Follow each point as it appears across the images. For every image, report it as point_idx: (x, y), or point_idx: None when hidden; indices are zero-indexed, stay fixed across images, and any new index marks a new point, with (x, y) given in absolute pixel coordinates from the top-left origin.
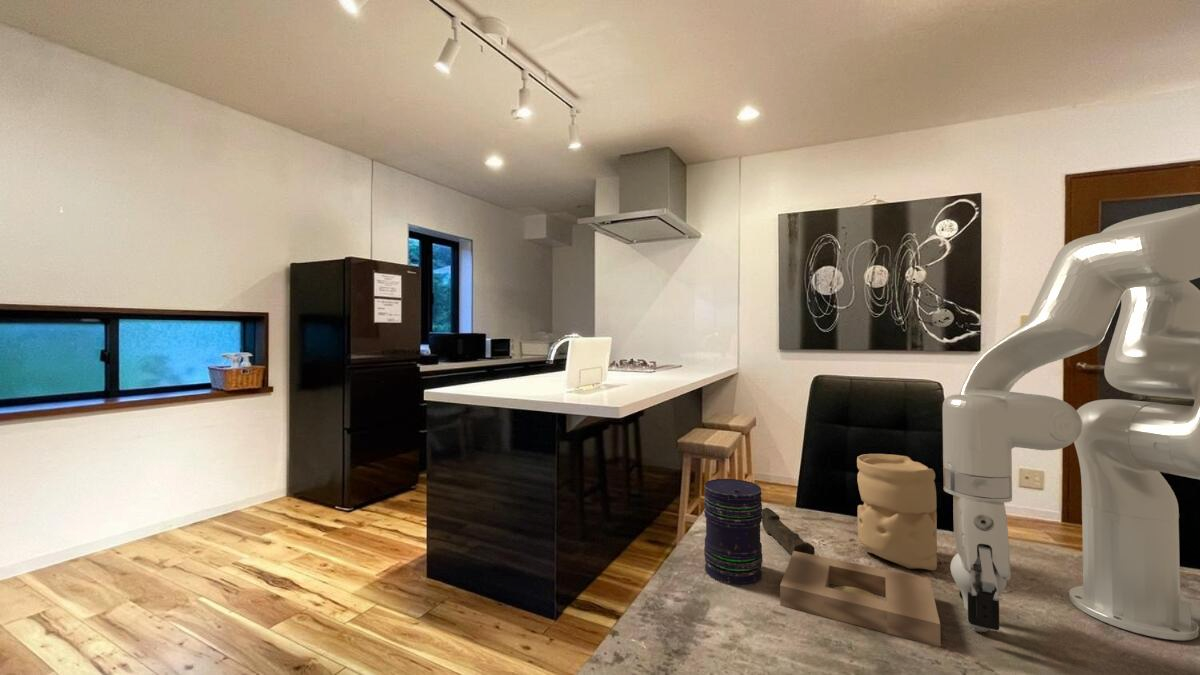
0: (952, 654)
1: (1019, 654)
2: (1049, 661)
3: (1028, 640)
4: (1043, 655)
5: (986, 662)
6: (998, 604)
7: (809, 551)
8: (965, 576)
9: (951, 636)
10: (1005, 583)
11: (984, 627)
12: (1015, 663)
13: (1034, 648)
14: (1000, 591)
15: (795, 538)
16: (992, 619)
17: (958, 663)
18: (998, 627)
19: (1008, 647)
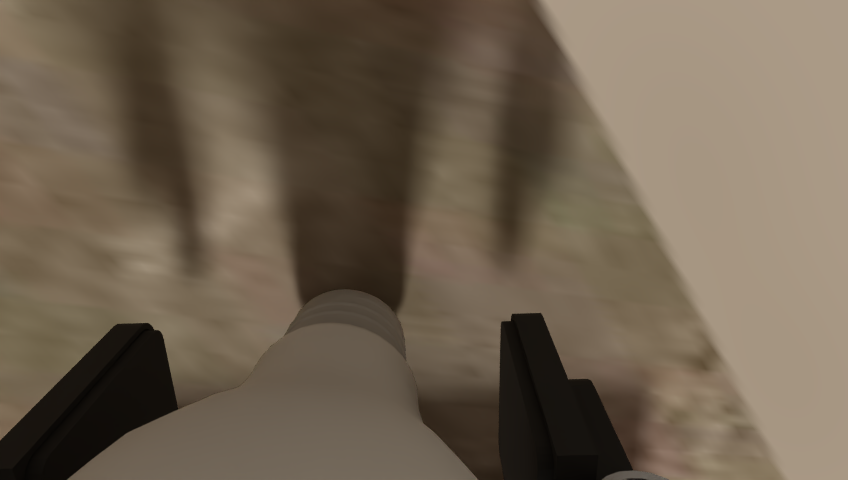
0: (672, 448)
1: (508, 166)
2: (504, 20)
3: (293, 83)
4: (445, 38)
5: (679, 328)
6: (581, 426)
7: None
8: None
9: (493, 438)
10: (387, 465)
11: (399, 329)
12: (623, 203)
13: (382, 70)
14: (435, 444)
15: None
16: (597, 393)
17: (743, 433)
18: (544, 321)
19: (456, 207)
